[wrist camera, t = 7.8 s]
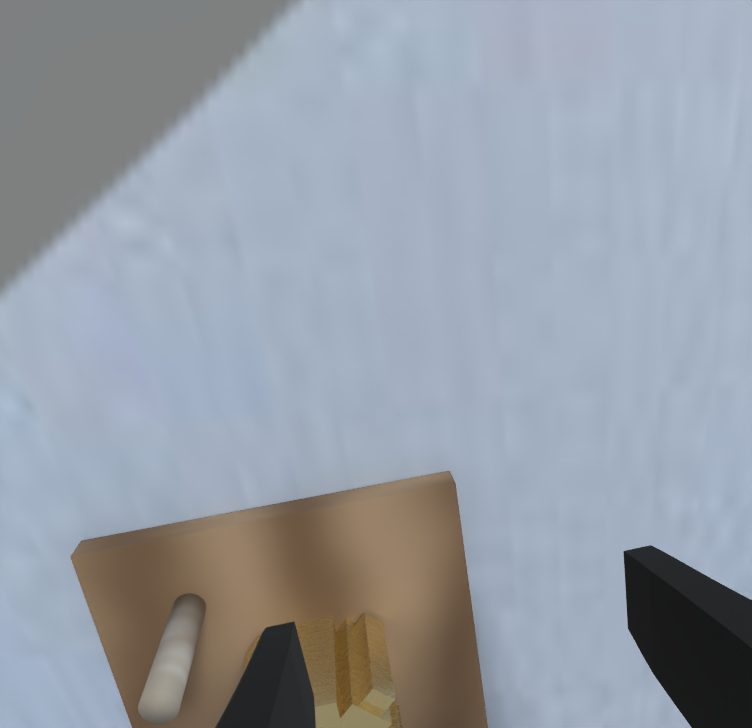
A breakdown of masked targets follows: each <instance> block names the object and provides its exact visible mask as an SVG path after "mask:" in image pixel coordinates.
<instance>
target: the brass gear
mask: <svg viewBox="0 0 752 728" xmlns="http://www.w3.org/2000/svg"><path fill="white" fill-rule="evenodd" d="M295 625H296V629H297V633H298V637H299V641H300V645H301V648H302V652H303V656H304V660H305V664H306V668H307V671H308V675H309V679H310V683H311V687H312V691H313V694H314V703H315V721H316V728H402V721H401V715H400V709H399V704H398V703H396V697H395V690H394V684H393V678H392V672H391V667H390V662H389V656H388V650H387V644H386V637H385V631H384V624H383V623H382V622H381V621H379V620H377V619H375V618H373V617H371V616H369V615H368V614H366V613H364V614H363V615H362V616H361V618H360V619H359V620H358V621H357V623H354V622H352V621H350V620H348V619H347V618H346V619H345V620H344V622H343V623H342V624H341V625H340V627H339V628H338V629H337V630H336V627H335V623H334V618H333V617H329V618H324V619H319V620H314V621H309V622H304V623H299V624H295ZM260 636H261V634H259V636H258V637H257V638H256V640H255V641H254V642H253V644H252V645H251V646H250V647H249V649H248V650H247V654H246V661H245V667H244V671H245V669H246V667H247V665H248V663H249V661H250V659H251V656H252V654H253V652H254V650H255V648H256V645H257V643H258V641H259V638H260Z"/></svg>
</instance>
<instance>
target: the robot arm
mask: <svg viewBox="0 0 752 728" xmlns="http://www.w3.org/2000/svg"><path fill="white" fill-rule="evenodd" d="M624 565H625V582H626V600H627V617H628V629H629V631H630V633H631V635H632V636H633V638H634V640H635V642H636V644H637V646H638V647H639V649H640V651H641V653H642V655H643V657H644V658H645V660H646V662H647V663H648V665H649V667H650V669H651V670H652V672H653V674H654V675H655V677H656V678H657V680H658V681H659V682H660V684H661V685H662V687H663V688H664V690H665V691H666V692H667V694H668V695H669V697H670V698H671V699H672V701H673V702H674V704H675V705H676V706H677V708H678V709H679V711H680V712H681V713H682V715H683V716H684V717H685V719H686V720H687V722H688V723H689V724H690V726H691V727H692V728H752V600H750V599H748V598H746V597H744V596H742V595H740V594H739V593H737V592H735V591H733V590H731V589H729V588H727V587H726V586H724V585H722V584H720V583H718V582H716V581H715V580H713V579H711V578H709V577H707V576H706V575H704V574H702V573H700V572H699V571H697V570H695V569H693V568H691V567H690V566H688V565H686V564H684V563H683V562H681V561H679V560H677V559H675V558H674V557H672V556H670V555H668V554H666V553H665V552H663V551H661V550H659V549H657V548H655V547H653V546H651V545H650V546H646V547H641V548H636V549H632V550H627V551H624ZM215 728H316V721H315V703H314V694H313V691H312V687H311V683H310V679H309V675H308V671H307V668H306V664H305V660H304V656H303V652H302V648H301V645H300V641H299V637H298V633H297V629H296V625H295V622H289V623H284V624H280V625H275V626H270V627H266V628H265V629H264V631H263V632H262V634H261V636H260V638H259V641H258V643H257V645H256V648H255V650H254V652H253V654H252V656H251V659H250V661H249V663H248V665H247V667H246V669H245V671H244V673H243V675H242V677H241V680H240V682H239V684H238V686H237V687H236V689H235V691H234V693H233V695H232V697H231V699H230V701H229V703H228V705H227V707H226V709H225V711H224V712H223V714H222V716H221V718H220V720H219V722H218V723H217V725H216V727H215Z"/></svg>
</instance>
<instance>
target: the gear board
mask: <svg viewBox="0 0 752 728" xmlns="http://www.w3.org/2000/svg"><path fill="white" fill-rule="evenodd" d="M71 560H72V563H73V565H74V568H75V571H76V574H77V576H78V579H79V582H80V585H81V587H82V590H83V593H84V596H85V598H86V601H87V604H88V607H89V609H90V612H91V615H92V618H93V620H94V623H95V626H96V629H97V632H98V634H99V637H100V640H101V643H102V645H103V648H104V651H105V654H106V656H107V659H108V662H109V665H110V667H111V670H112V673H113V676H114V678H115V681H116V684H117V687H118V689H119V692H120V695H121V698H122V700H123V703H124V706H125V709H126V711H127V714H128V717H129V720H130V722H131V725H132V728H215V727H216V725H217V723H218V722H219V720H220V718H221V716H222V714H223V712H224V711H225V709H226V707H227V705H228V703H229V701H230V699H231V697H232V695H233V693H234V691H235V689H236V687H237V686H238V684H239V682H240V680H241V677H242V675H243V673H244V667H245V661H246V654H247V650H248V649H249V647H250V646H251V645H252V644H253V642H254V641H255V640H256V638H257V637H258V636H259V634H262V632H263V631H264V629H265V628H266V627H270V626H275V625H280V624H284V623H289V622H295V624H299V623H304V622H309V621H314V620H319V619H324V618H329V617H333V618H334V623H335V627H336V630H337V629H338V628H339V627H340V625H341V624H342V623H343V622H344V620H345V619H346V618H347V619H348V620H350V621H352V622H354V623H357V621H358V620H359V619H360V618H361V616H362V615H363V614H364V613H366V614H368V615H369V616H371V617H373V618H375V619H377V620H379V621H381V622H382V623H383V624H384V631H385V637H386V644H387V650H388V656H389V662H390V667H391V672H392V678H393V684H394V690H395V697H396V703H398V704H399V709H400V715H401V721H402V728H488V726H487V718H486V711H485V703H484V696H483V688H482V680H481V673H480V665H479V658H478V650H477V643H476V635H475V628H474V620H473V612H472V605H471V597H470V590H469V582H468V575H467V567H466V559H465V552H464V544H463V537H462V529H461V522H460V514H459V507H458V499H457V491H456V484H455V481H454V479H453V477H452V475H451V473H450V471H447V472H441V473H436V474H431V475H426V476H420V477H415V478H410V479H405V480H399V481H394V482H389V483H384V484H378V485H373V486H368V487H363V488H357V489H352V490H347V491H342V492H336V493H331V494H326V495H320V496H315V497H310V498H305V499H299V500H294V501H289V502H284V503H278V504H273V505H268V506H263V507H257V508H252V509H247V510H242V511H236V512H231V513H226V514H220V515H215V516H210V517H205V518H199V519H194V520H189V521H184V522H178V523H173V524H168V525H163V526H157V527H152V528H147V529H142V530H136V531H131V532H126V533H121V534H115V535H110V536H105V537H99V538H94V539H89V540H84V541H81V542H80V543H79V545H78V546H77V548H76V549H75V551H74V552H73V554H72V555H71Z"/></svg>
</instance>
